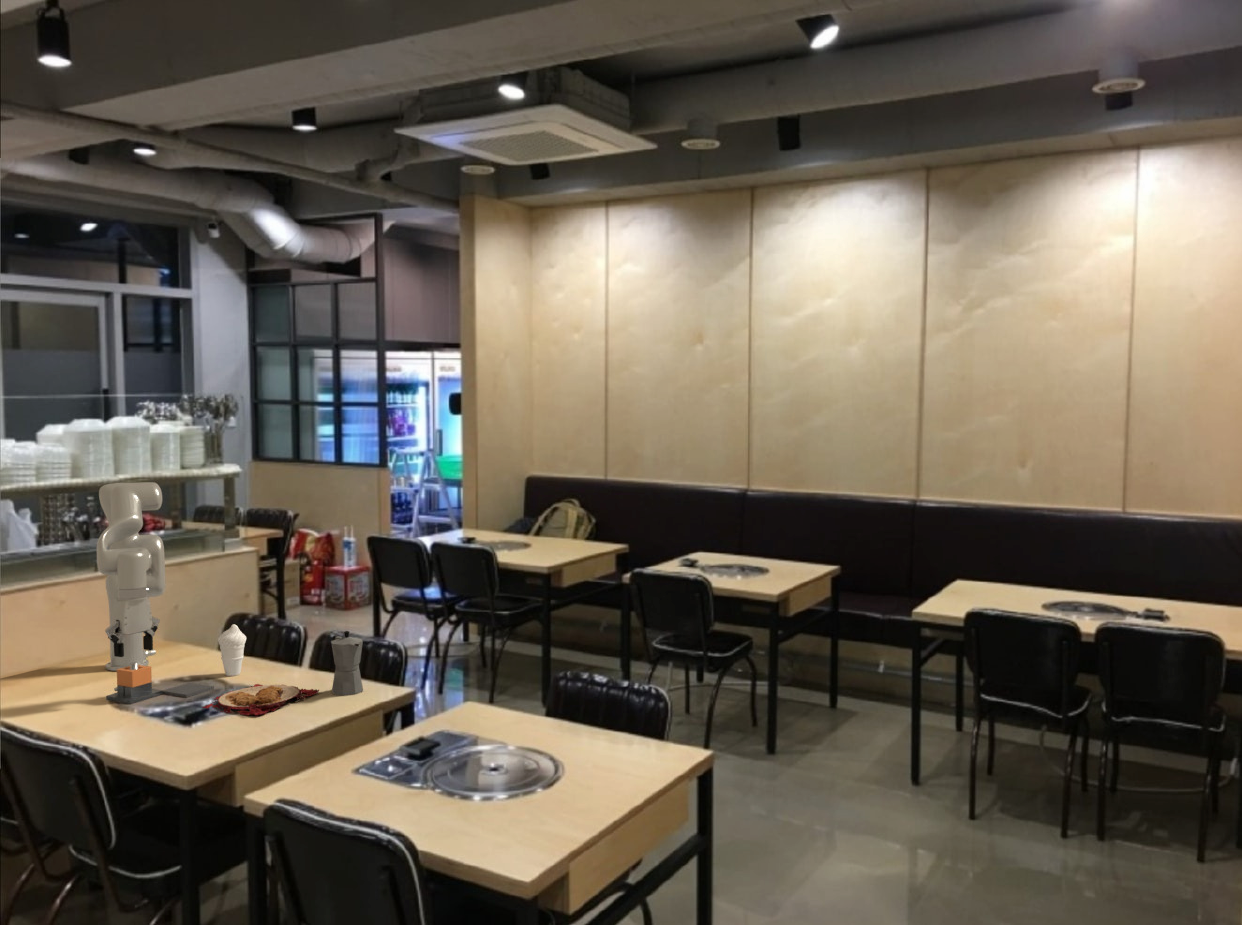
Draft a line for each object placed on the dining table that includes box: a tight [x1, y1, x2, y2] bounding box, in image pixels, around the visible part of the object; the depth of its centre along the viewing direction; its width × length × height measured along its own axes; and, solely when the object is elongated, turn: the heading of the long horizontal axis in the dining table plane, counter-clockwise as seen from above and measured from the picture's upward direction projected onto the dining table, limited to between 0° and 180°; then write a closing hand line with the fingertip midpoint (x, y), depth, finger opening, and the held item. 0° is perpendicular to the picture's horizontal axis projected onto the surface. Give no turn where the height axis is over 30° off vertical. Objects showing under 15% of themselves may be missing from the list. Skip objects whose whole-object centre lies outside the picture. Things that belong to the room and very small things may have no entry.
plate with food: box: [201, 683, 320, 716], centre depth 286 cm, size 24×26×4 cm
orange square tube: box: [116, 665, 153, 687], centre depth 289 cm, size 6×6×4 cm
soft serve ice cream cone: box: [217, 624, 247, 677], centre depth 315 cm, size 8×8×16 cm
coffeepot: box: [330, 630, 364, 696], centre depth 296 cm, size 15×9×18 cm, turn 44°
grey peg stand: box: [105, 662, 164, 705], centre depth 289 cm, size 11×10×10 cm
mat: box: [163, 682, 215, 698], centre depth 296 cm, size 10×10×1 cm
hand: (133, 653), depth 288 cm, fingers open, 9 cm apart
